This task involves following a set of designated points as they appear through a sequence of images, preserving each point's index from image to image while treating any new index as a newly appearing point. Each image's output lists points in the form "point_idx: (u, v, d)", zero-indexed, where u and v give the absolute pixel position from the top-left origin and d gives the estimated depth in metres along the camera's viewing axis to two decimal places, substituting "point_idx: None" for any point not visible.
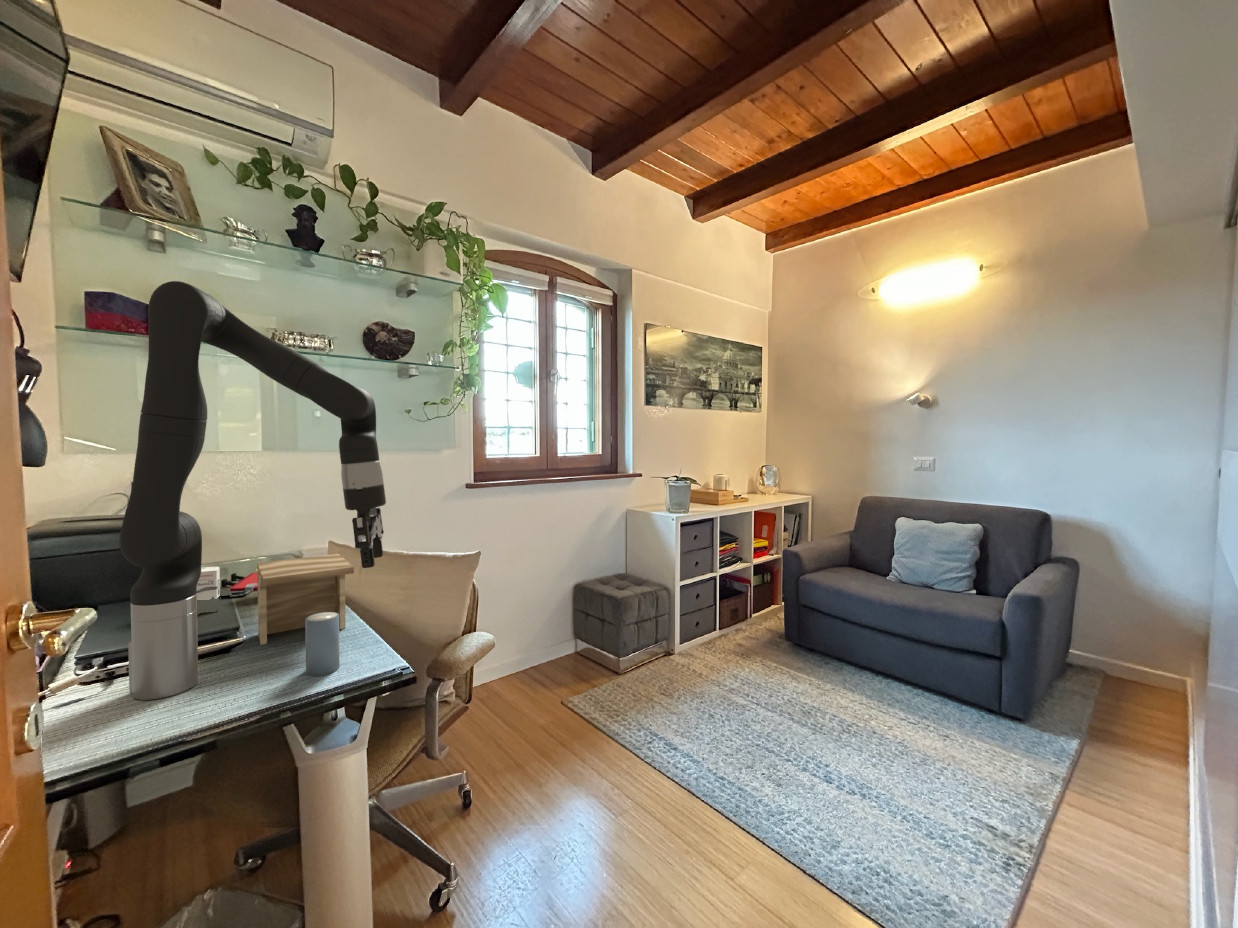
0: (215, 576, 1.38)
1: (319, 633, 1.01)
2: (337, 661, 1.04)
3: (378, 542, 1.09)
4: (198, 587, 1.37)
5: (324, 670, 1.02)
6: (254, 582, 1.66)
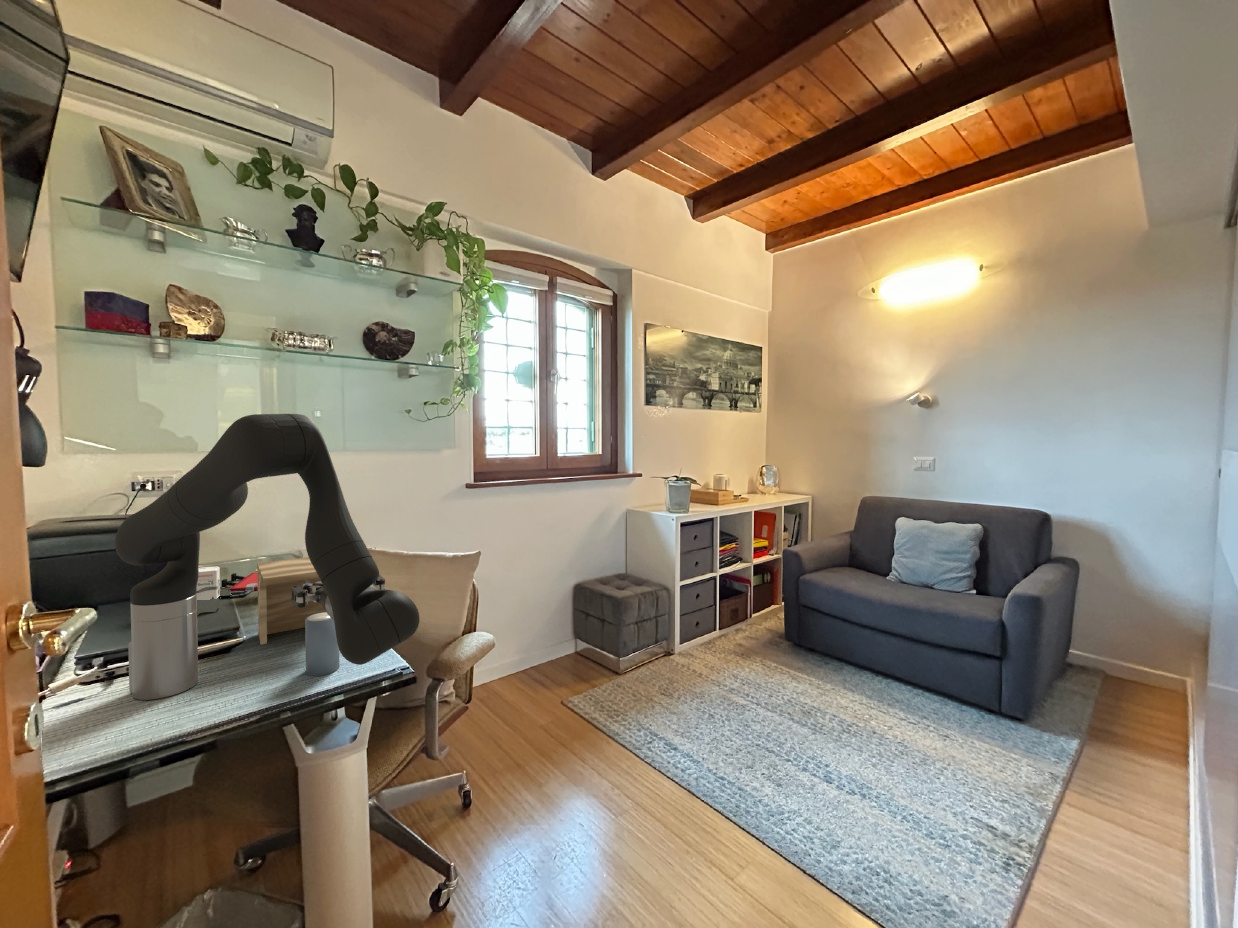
0: (215, 576, 1.38)
1: (319, 633, 1.01)
2: (337, 661, 1.04)
3: None
4: (198, 587, 1.37)
5: (324, 670, 1.02)
6: (254, 582, 1.66)
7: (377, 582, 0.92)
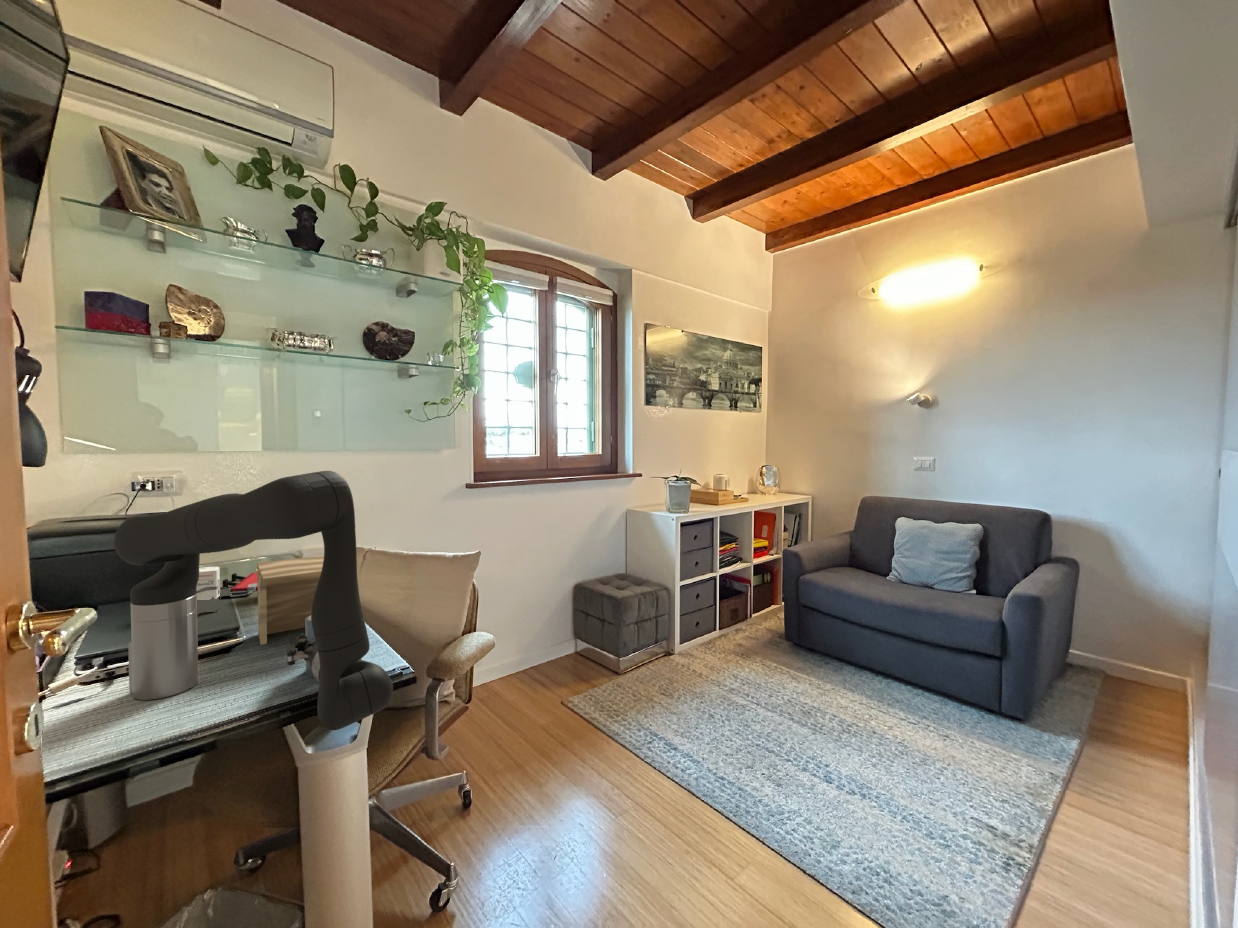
0: (215, 576, 1.38)
1: None
2: None
3: None
4: (198, 587, 1.37)
5: None
6: (256, 582, 1.66)
7: None
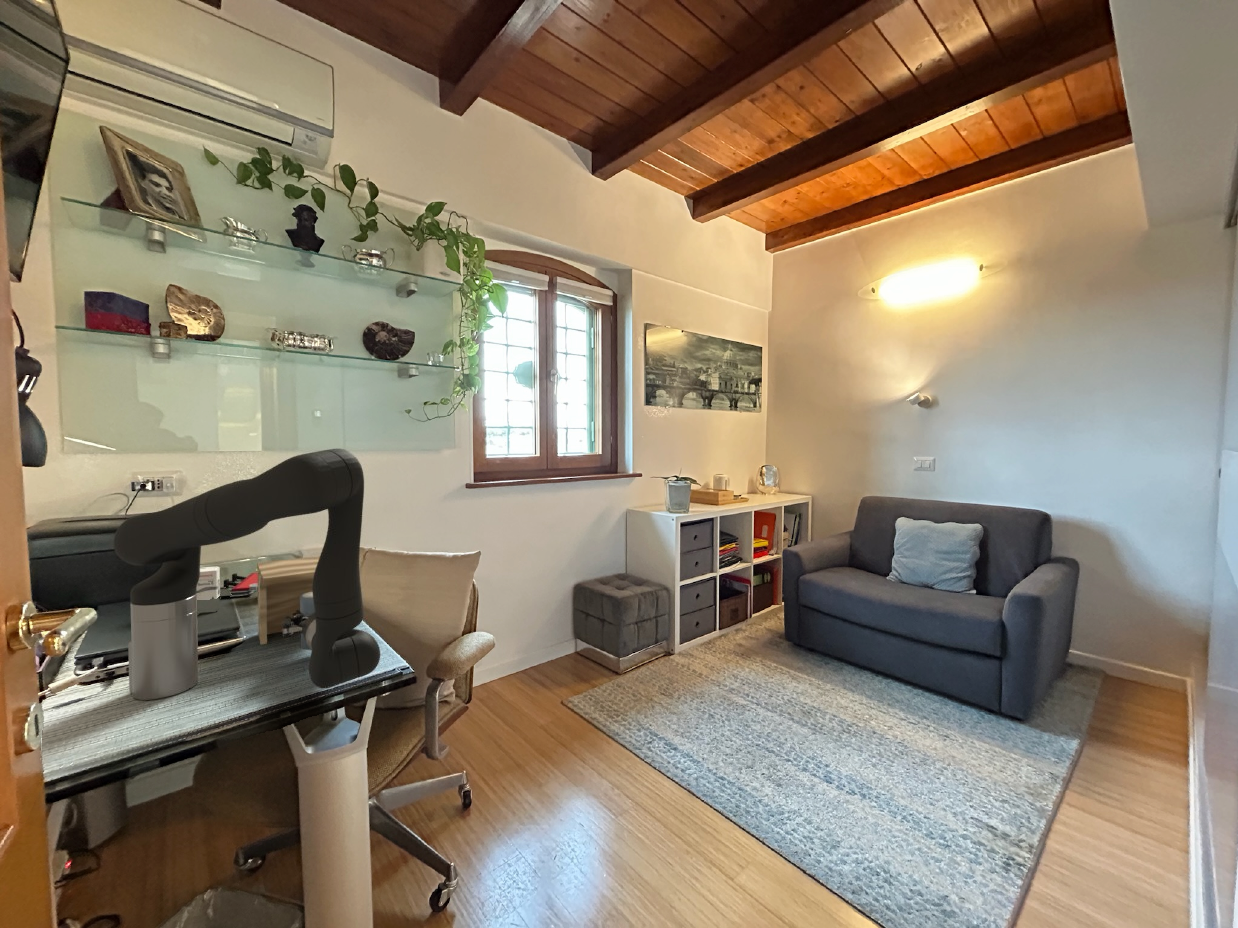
0: (215, 576, 1.38)
1: (313, 609, 1.08)
2: None
3: None
4: (198, 587, 1.37)
5: None
6: (257, 582, 1.66)
7: None
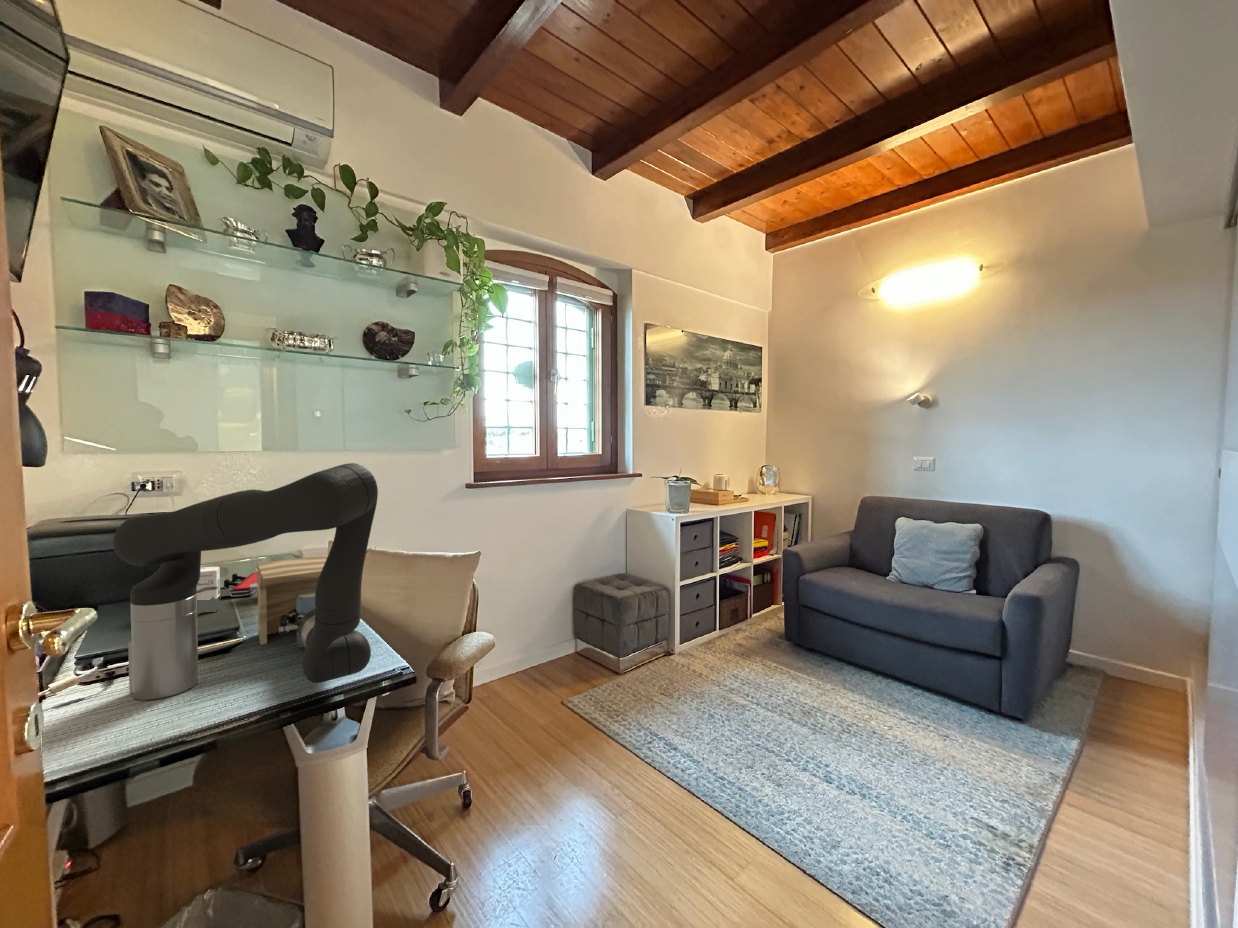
0: (215, 576, 1.38)
1: (308, 608, 1.13)
2: None
3: None
4: (198, 587, 1.37)
5: None
6: (257, 582, 1.66)
7: None
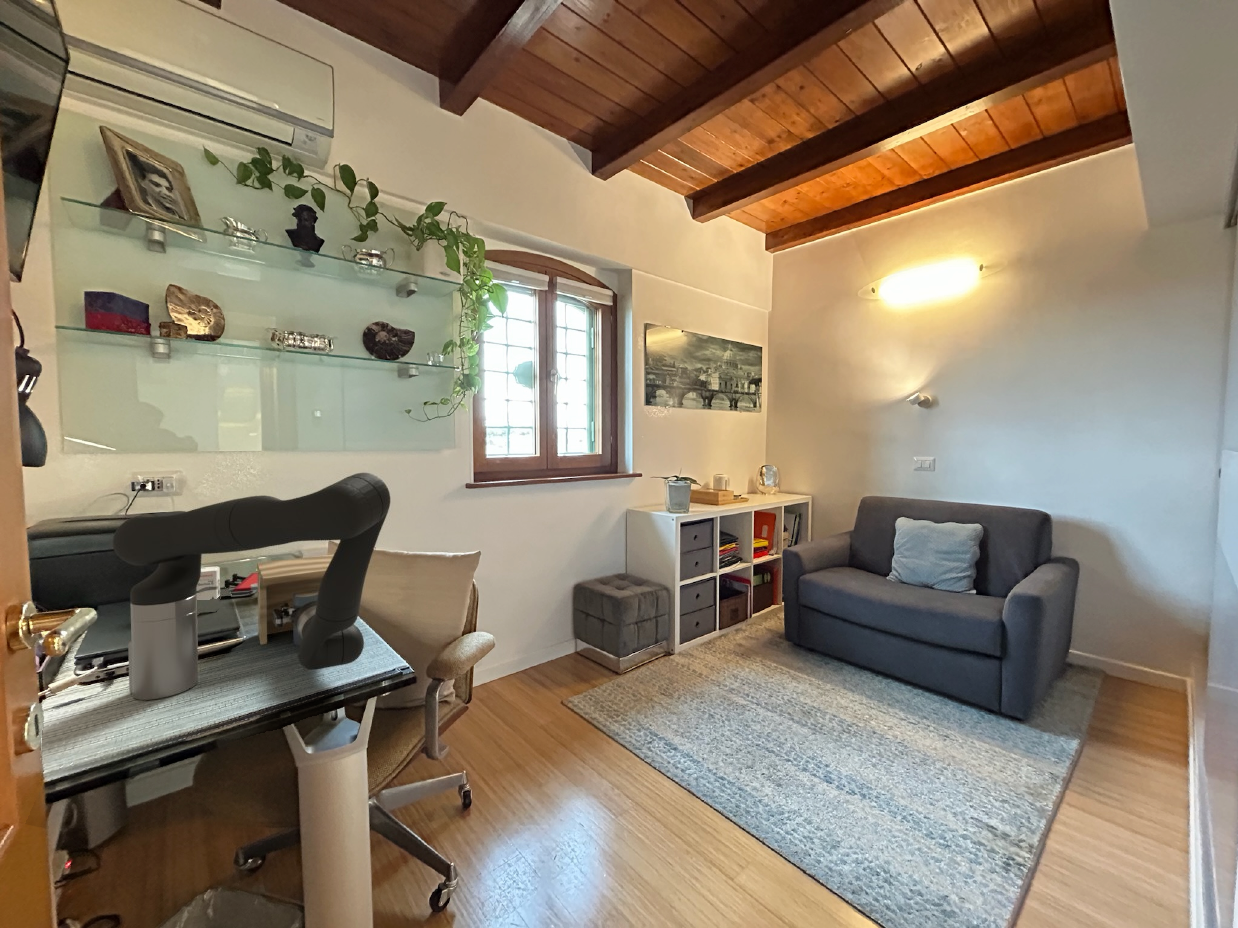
0: (215, 576, 1.38)
1: None
2: None
3: None
4: (198, 587, 1.37)
5: None
6: None
7: None
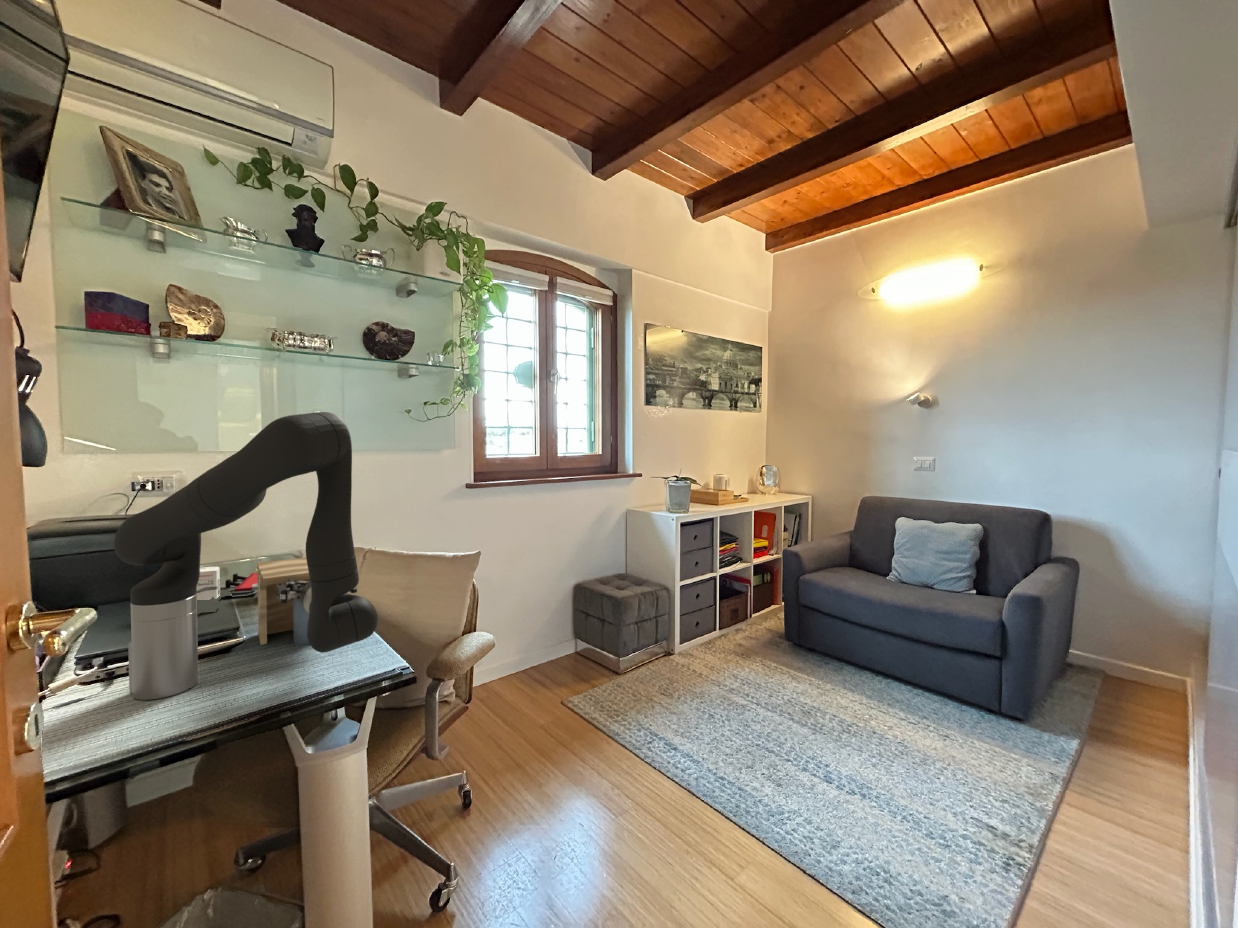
0: (215, 576, 1.38)
1: None
2: None
3: None
4: (198, 587, 1.37)
5: None
6: None
7: None
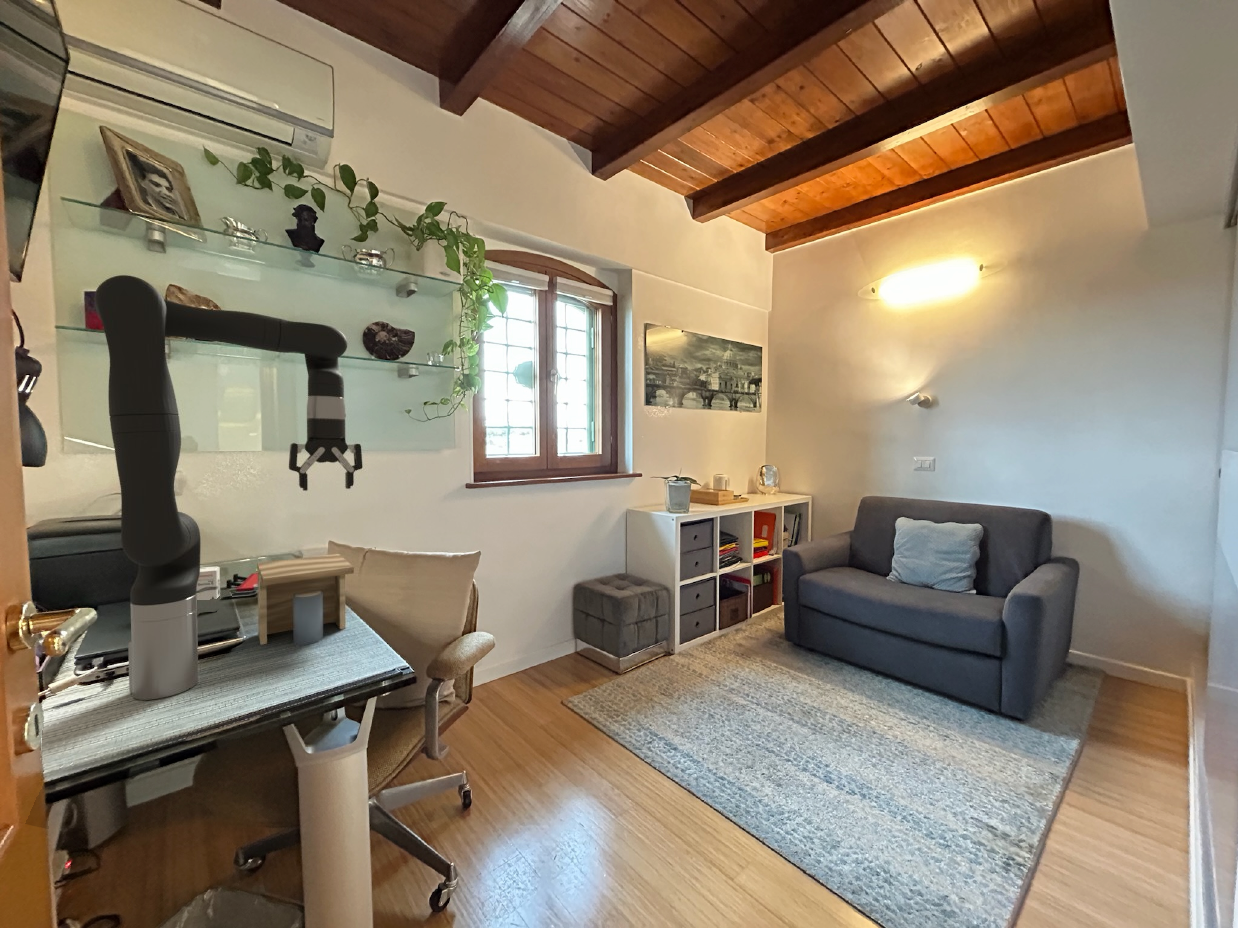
0: (215, 576, 1.38)
1: (305, 607, 1.17)
2: (321, 632, 1.20)
3: (346, 474, 1.17)
4: (198, 587, 1.37)
5: (309, 639, 1.18)
6: None
7: None
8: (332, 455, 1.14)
